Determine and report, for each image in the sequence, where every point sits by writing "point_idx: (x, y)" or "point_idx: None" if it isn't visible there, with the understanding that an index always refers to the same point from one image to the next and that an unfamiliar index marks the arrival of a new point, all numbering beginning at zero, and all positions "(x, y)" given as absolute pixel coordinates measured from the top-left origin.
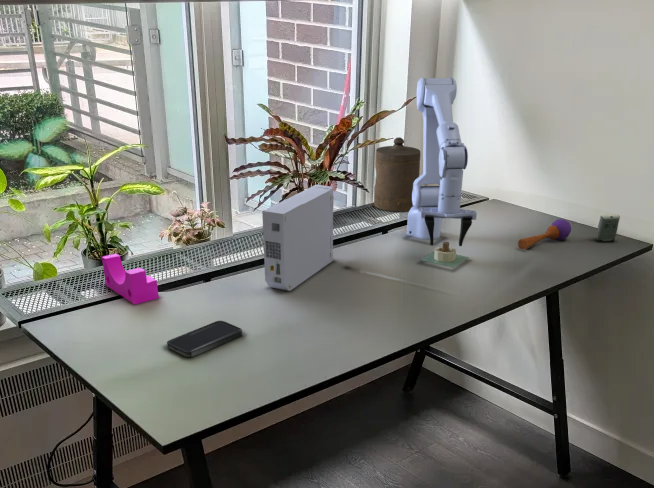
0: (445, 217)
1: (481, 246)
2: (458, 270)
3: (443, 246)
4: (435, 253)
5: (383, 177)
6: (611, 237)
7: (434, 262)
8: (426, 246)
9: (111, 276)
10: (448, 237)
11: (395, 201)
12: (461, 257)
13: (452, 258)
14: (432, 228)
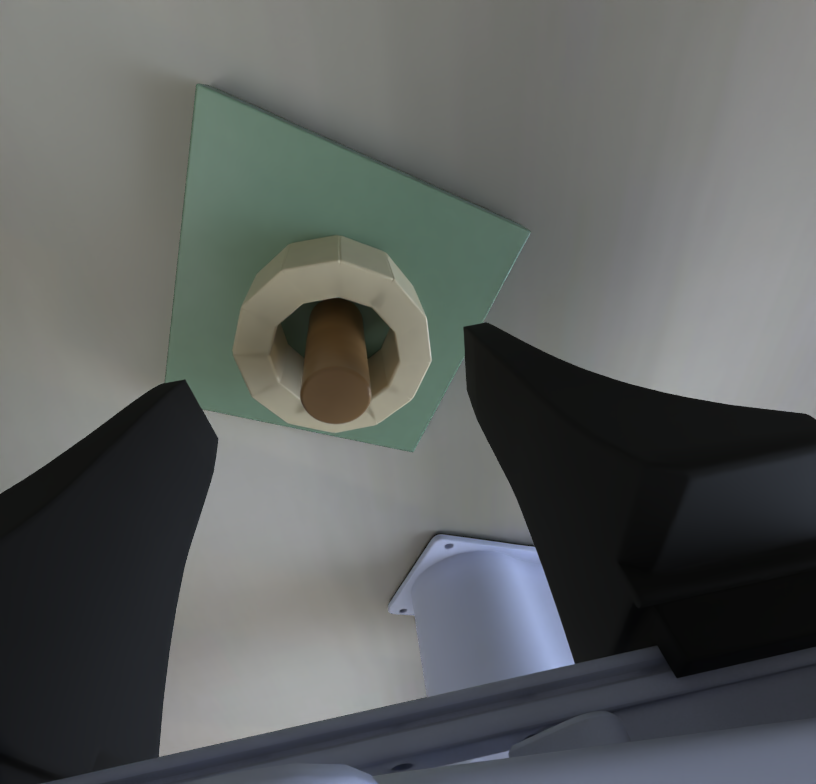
0: (393, 725)
1: (190, 581)
2: (164, 130)
3: (355, 356)
4: (417, 301)
5: None
6: None
7: (407, 200)
8: (468, 506)
9: None
10: (373, 610)
11: None
12: (215, 378)
13: (255, 280)
14: (587, 410)
